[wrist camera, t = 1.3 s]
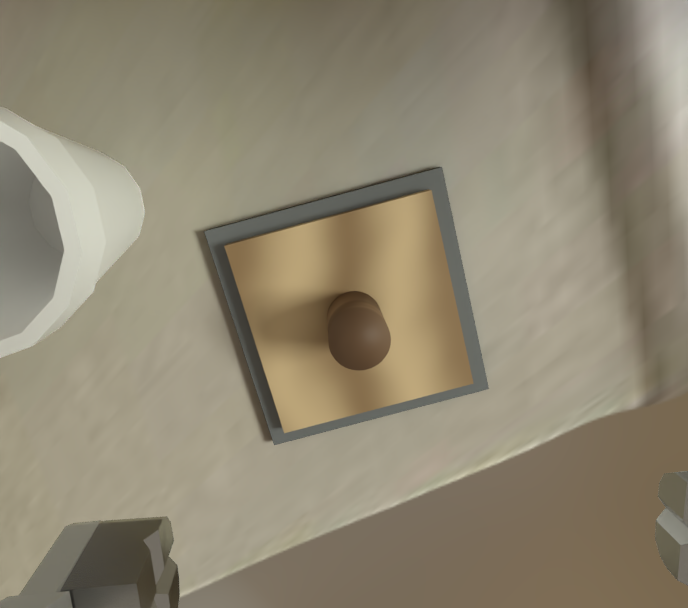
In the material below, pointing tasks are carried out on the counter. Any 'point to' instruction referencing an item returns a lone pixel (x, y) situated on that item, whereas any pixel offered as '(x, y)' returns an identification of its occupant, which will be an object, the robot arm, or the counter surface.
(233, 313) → the mat
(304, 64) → the counter surface
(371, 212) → the lid
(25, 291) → the foam cup
